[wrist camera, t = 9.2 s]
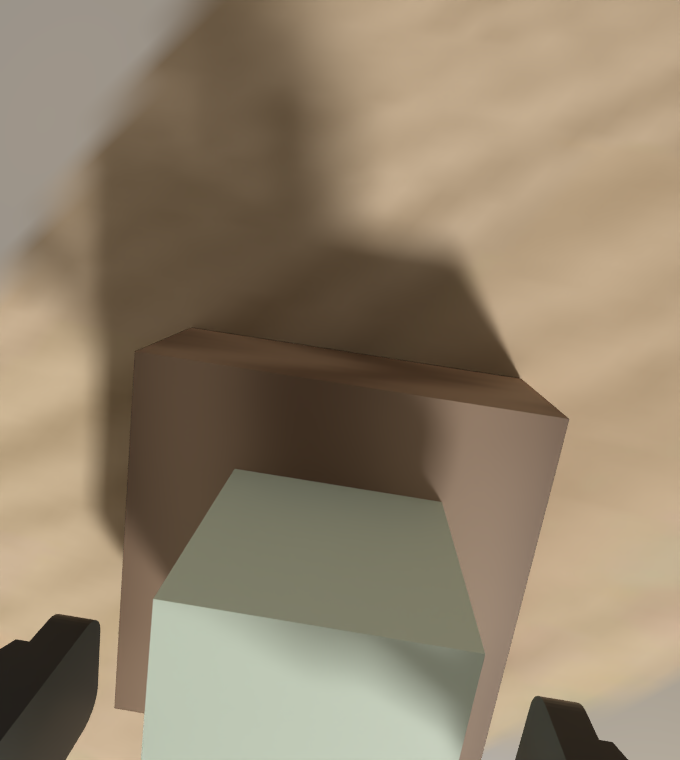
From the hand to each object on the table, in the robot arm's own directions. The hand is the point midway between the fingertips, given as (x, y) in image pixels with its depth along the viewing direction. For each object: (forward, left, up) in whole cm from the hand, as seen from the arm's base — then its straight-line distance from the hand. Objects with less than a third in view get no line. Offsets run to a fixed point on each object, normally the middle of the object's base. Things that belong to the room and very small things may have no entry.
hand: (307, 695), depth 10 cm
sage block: (0, 0, -4) cm, 4 cm away
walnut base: (0, 0, -8) cm, 8 cm away
